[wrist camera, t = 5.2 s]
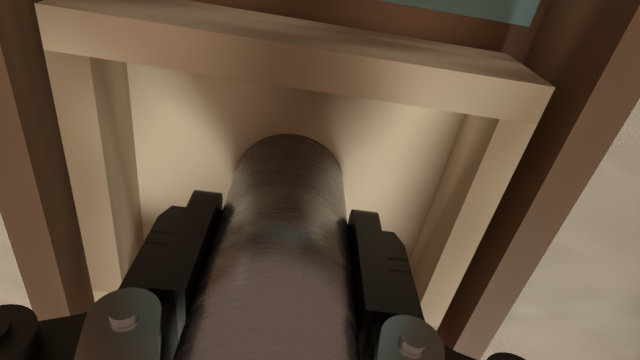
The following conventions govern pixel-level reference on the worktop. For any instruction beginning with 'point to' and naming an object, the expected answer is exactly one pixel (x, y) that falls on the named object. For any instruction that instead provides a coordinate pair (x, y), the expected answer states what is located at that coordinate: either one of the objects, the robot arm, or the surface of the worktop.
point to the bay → (380, 16)
